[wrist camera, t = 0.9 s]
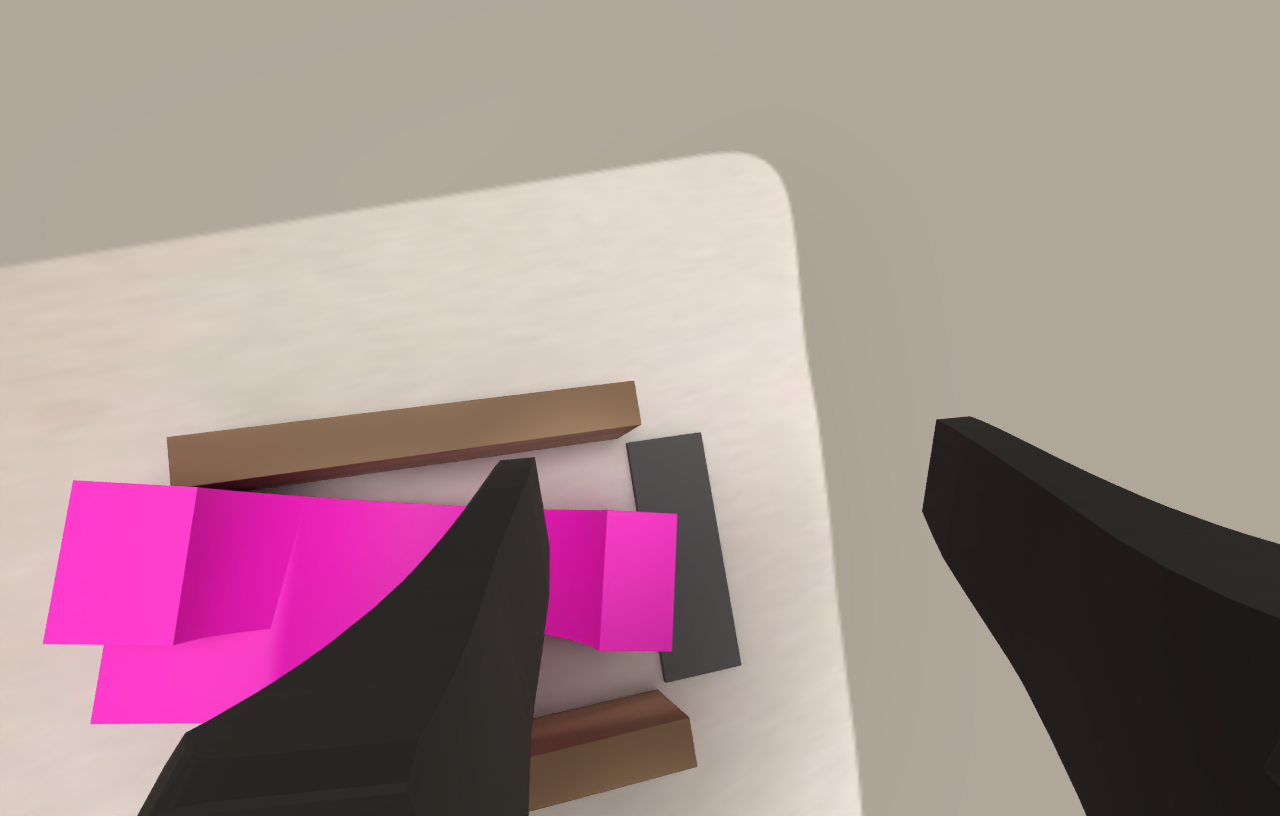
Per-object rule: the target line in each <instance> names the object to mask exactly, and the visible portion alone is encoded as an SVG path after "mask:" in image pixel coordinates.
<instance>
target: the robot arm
mask: <svg viewBox="0 0 1280 816" xmlns="http://www.w3.org/2000/svg"><path fill="white" fill-rule="evenodd" d="M922 512H923V514H924V516H925V519H926V521H927V524H928V526H929V528H930V531H931V533H932V535H933V537H934V539H935V542H936V544H937V546H938V548H939V550H940V552H941V554H942V556H943V558H944V560H945V562H946V563H947V565H948V566H949V568H950V570H951V571H952V573H953V574H954V576H955V578H956V579H957V581H958V582H959V584H960V585H961V587H962V589H963V590H964V592H965V593H966V595H967V596H968V598H969V599H970V601H971V602H972V604H973V606H974V607H975V608H976V610H977V612H978V613H979V615H980V616H981V618H982V619H983V621H984V622H985V624H986V625H987V627H988V629H989V630H990V632H991V633H992V635H993V636H994V638H995V639H996V641H997V642H998V644H999V645H1000V647H1001V649H1002V650H1003V652H1004V653H1005V655H1006V656H1007V658H1008V659H1009V661H1010V663H1011V664H1012V666H1013V668H1014V669H1015V671H1016V673H1017V674H1018V676H1019V677H1020V679H1021V681H1022V683H1023V685H1024V686H1025V688H1026V690H1027V692H1028V694H1029V696H1030V698H1031V700H1032V702H1033V704H1034V706H1035V708H1036V710H1037V712H1038V714H1039V716H1040V718H1041V720H1042V722H1043V724H1044V726H1045V728H1046V730H1047V732H1048V734H1049V736H1050V738H1051V740H1052V742H1053V744H1054V746H1055V748H1056V750H1057V752H1058V755H1059V757H1060V759H1061V761H1062V763H1063V765H1064V767H1065V769H1066V772H1067V774H1068V776H1069V778H1070V780H1071V782H1072V784H1073V786H1074V788H1075V791H1076V793H1077V795H1078V797H1079V799H1080V802H1081V804H1082V806H1083V809H1084V811H1085V813H1086V816H1280V544H1277V543H1274V542H1270V541H1267V540H1264V539H1260V538H1257V537H1254V536H1250V535H1247V534H1243V533H1241V532H1238V531H1235V530H1231V529H1228V528H1225V527H1222V526H1219V525H1216V524H1213V523H1210V522H1208V521H1205V520H1203V519H1199V518H1197V517H1194V516H1191V515H1189V514H1186V513H1183V512H1181V511H1178V510H1175V509H1172V508H1169V507H1167V506H1165V505H1162V504H1160V503H1157V502H1155V501H1152V500H1150V499H1147V498H1145V497H1142V496H1140V495H1138V494H1135V493H1133V492H1131V491H1128V490H1126V489H1124V488H1122V487H1119V486H1117V485H1115V484H1112V483H1110V482H1108V481H1106V480H1103V479H1101V478H1099V477H1097V476H1095V475H1093V474H1090V473H1088V472H1086V471H1084V470H1082V469H1080V468H1078V467H1076V466H1074V465H1071V464H1070V463H1068V462H1065V461H1063V460H1061V459H1059V458H1057V457H1055V456H1053V455H1051V454H1049V453H1047V452H1045V451H1043V450H1041V449H1039V448H1037V447H1035V446H1033V445H1031V444H1029V443H1027V442H1025V441H1023V440H1021V439H1019V438H1017V437H1015V436H1013V435H1011V434H1009V433H1007V432H1005V431H1003V430H1001V429H998V428H996V427H994V426H992V425H990V424H988V423H985V422H983V421H981V420H978V419H976V418H973V417H970V416H969V417H959V418H948V419H937V420H936V426H935V432H934V438H933V445H932V452H931V457H930V464H929V471H928V477H927V483H926V490H925V496H924V502H923V509H922ZM549 591H550V544H549V538H548V532H547V526H546V521H545V515H544V509H543V503H542V497H541V491H540V486H539V480H538V474H537V468H536V462H535V457H532V458H521V459H511V460H500V462H499V463H498V464H497V465H496V466H495V467H494V469H493V470H492V471H491V473H490V474H489V476H488V477H487V479H486V480H485V481H484V483H483V484H482V486H481V487H480V489H479V490H478V491H477V493H476V494H475V495H474V497H473V498H472V500H471V501H470V502H469V504H468V505H467V506H466V508H465V509H464V510H463V512H462V513H461V514H460V515H459V517H458V518H457V519H456V521H455V522H454V523H453V524H452V526H451V527H450V528H449V529H448V531H447V532H446V533H445V534H444V536H443V537H442V538H441V539H440V540H439V541H438V543H437V544H436V545H435V546H434V547H433V548H432V549H431V551H430V552H429V553H428V554H427V555H426V556H425V557H424V559H423V560H422V561H421V562H420V563H419V564H418V565H417V566H416V568H415V569H414V570H413V571H412V572H411V573H410V574H409V575H408V576H407V577H406V578H405V579H404V580H403V581H402V582H401V583H400V584H399V585H398V586H397V587H396V588H395V589H393V590H392V591H391V592H390V593H389V594H388V595H387V596H386V597H385V598H384V599H383V600H382V601H381V602H379V603H378V604H377V605H376V606H375V607H374V608H373V609H371V610H370V611H369V612H368V613H366V614H365V615H364V616H363V617H361V618H360V619H359V620H358V621H356V622H355V623H354V624H353V625H351V626H350V627H349V628H348V629H346V630H345V631H344V632H343V633H341V634H340V635H339V636H338V637H336V638H335V639H334V640H333V641H331V642H330V643H329V644H328V645H326V646H325V647H324V648H322V649H321V650H319V651H318V652H317V653H315V654H314V655H312V656H311V657H309V658H308V659H307V660H305V661H304V662H302V663H301V664H300V665H298V666H297V667H295V668H294V669H292V670H291V671H289V672H287V673H286V674H284V675H283V676H281V677H280V678H278V679H277V680H275V681H274V682H272V683H271V684H269V685H268V686H266V687H264V688H263V689H261V690H260V691H258V692H256V693H255V694H253V695H251V696H250V697H248V698H246V699H244V700H243V701H241V702H239V703H238V704H236V705H234V706H232V707H231V708H229V709H227V710H225V711H224V712H222V713H220V714H219V715H217V716H215V717H213V718H212V719H210V720H208V721H206V722H205V723H203V724H201V725H199V726H198V727H196V728H194V729H192V730H190V731H188V732H186V733H185V734H184V736H183V737H182V739H181V741H180V742H179V744H178V745H177V747H176V749H175V750H174V752H173V753H172V755H171V757H170V758H169V760H168V761H167V763H166V765H165V766H164V768H163V770H162V772H161V773H160V775H159V777H158V779H157V781H156V783H155V784H154V786H153V788H152V790H151V792H150V794H149V795H148V797H147V799H146V801H145V803H144V805H143V806H142V808H141V810H140V812H139V814H138V816H529V784H530V758H531V733H532V723H533V713H534V704H535V697H536V690H537V683H538V676H539V669H540V662H541V655H542V648H543V640H544V633H545V626H546V619H547V611H548V604H549Z"/></svg>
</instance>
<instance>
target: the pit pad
mask: <svg viewBox="0 0 1280 816" xmlns="http://www.w3.org/2000/svg"><path fill="white" fill-rule="evenodd" d="M626 446H627V452H628V458H629V465H630V471H631V477H632V483H633V490H634V496H635V502H636V508H637V512H650V513H668V514H677V532H676V558H675V583H674V609H673V634H672V651H659V652H660V658H661V664H662V670H663V677H664V681H665V682H666V683H667V682H671V681H676V680H680V679H684V678H688V677H693V676H697V675H701V674H706V673H710V672H714V671H718V670H723V669H727V668H731V667H736V666H740V665H741V660H740V655H739V649H738V643H737V637H736V632H735V626H734V620H733V614H732V609H731V603H730V597H729V591H728V586H727V580H726V574H725V568H724V563H723V557H722V551H721V545H720V540H719V534H718V528H717V522H716V516H715V511H714V505H713V499H712V493H711V488H710V482H709V476H708V470H707V465H706V459H705V453H704V447H703V442H702V436H701V432H700V433H693V434H686V435H679V436H672V437H665V438H658V439H651V440H644V441H637V442H630V443H626Z"/></svg>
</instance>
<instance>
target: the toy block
mask: <svg viewBox="0 0 1280 816" xmlns="http://www.w3.org/2000/svg"><path fill="white" fill-rule="evenodd" d="M465 508H466V506H451V505H432V504H414V503H396V502H380V501H363V500H348V499H333V498H318V497H304V496H290V495H277V494H265V493H252V492H241V491H229V490H219V489H209V488H200V487H184V486H166V485H148V484H130V483H112V482H94V481H76V480H73V484H72V490H71V495H70V500H69V506H68V511H67V516H66V522H65V527H64V533H63V538H62V543H61V549H60V554H59V560H58V565H57V570H56V576H55V581H54V586H53V592H52V597H51V603H50V608H49V613H48V619H47V624H46V630H45V635H44V640H43V644H90V645H104V647H103V653H102V659H101V665H100V671H99V677H98V682H97V688H96V694H95V700H94V706H93V712H92V717H91V723H90V724H154V723H205V722H206V721H208V720H210V719H212V718H213V717H215V716H217V715H219V714H220V713H222V712H224V711H225V710H227V709H229V708H231V707H232V706H234V705H236V704H238V703H239V702H241V701H243V700H244V699H246V698H248V697H250V696H251V695H253V694H255V693H256V692H258V691H260V690H261V689H263V688H264V687H266V686H268V685H269V684H271V683H272V682H274V681H275V680H277V679H278V678H280V677H281V676H283V675H284V674H286V673H287V672H289V671H291V670H292V669H294V668H295V667H297V666H298V665H300V664H301V663H302V662H304V661H305V660H307V659H308V658H309V657H311V656H312V655H314V654H315V653H317V652H318V651H319V650H321V649H322V648H324V647H325V646H326V645H328V644H329V643H330V642H331V641H333V640H334V639H335V638H336V637H338V636H339V635H340V634H341V633H343V632H344V631H345V630H346V629H348V628H349V627H350V626H351V625H353V624H354V623H355V622H356V621H358V620H359V619H360V618H361V617H363V616H364V615H365V614H366V613H368V612H369V611H370V610H371V609H373V608H374V607H375V606H376V605H377V604H378V603H379V602H381V601H382V600H383V599H384V598H385V597H386V596H387V595H388V594H389V593H390V592H391V591H392V590H393V589H395V588H396V587H397V586H398V585H399V584H400V583H401V582H402V581H403V580H404V579H405V578H406V577H407V576H408V575H409V574H410V573H411V572H412V571H413V570H414V569H415V568H416V566H417V565H418V564H419V563H420V562H421V561H422V560H423V559H424V557H425V556H426V555H427V554H428V553H429V552H430V551H431V549H432V548H433V547H434V546H435V545H436V544H437V543H438V541H439V540H440V539H441V538H442V537H443V536H444V534H445V533H446V532H447V531H448V529H449V528H450V527H451V526H452V524H453V523H454V522H455V521H456V519H457V518H458V517H459V515H460V514H461V513H462V512H463V510H464V509H465ZM544 515H545V521H546V526H547V532H548V538H549V544H550V591H549V604H548V611H547V619H546V626H545V633H544V634H545V635H550V636H555V637H560V638H565V639H569V640H573V641H577V642H580V643H583V644H586V645H589V646H591V647H593V648H595V649H597V650H599V651H672V634H673V609H674V583H675V558H676V532H677V514H668V513H650V512H632V511H614V510H546V509H544Z"/></svg>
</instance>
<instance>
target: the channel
mask: <svg viewBox="0 0 1280 816" xmlns="http://www.w3.org/2000/svg"><path fill="white" fill-rule="evenodd" d="M639 425H641V420H640V413H639V407H638V401H637V395H636V389H635V383H634V381H628V382H619V383H611V384H603V385H595V386H586V387H578V388H570V389H562V390H553V391H545V392H537V393H528V394H520V395H512V396H504V397H495V398H487V399H479V400H471V401H462V402H454V403H446V404H438V405H429V406H421V407H413V408H405V409H396V410H388V411H380V412H371V413H363V414H355V415H347V416H338V417H330V418H322V419H314V420H305V421H297V422H289V423H281V424H272V425H264V426H256V427H248V428H239V429H231V430H223V431H214V432H206V433H198V434H190V435H181V436H173V437H167V446H168V458H169V471H170V484H171V486H184V487H200V488H209V489H219V490H229V491H249V490H256V489H263V488H270V487H277V486H284V485H291V484H298V483H305V482H312V481H319V480H326V479H334V478H341V477H348V476H355V475H362V474H369V473H376V472H383V471H390V470H397V469H404V468H412V467H419V466H426V465H433V464H440V463H447V462H454V461H461V460H468V459H475V458H482V457H489V456H497V455H504V454H511V453H518V452H525V451H532V450H539V449H546V448H553V447H560V446H567V445H574V444H582V443H589V442H596V441H603V440H610V439H617V438H619V437H621V436H623V435H624V434H626V433H628V432H629V431H631V430H633V429H634V428H636V427H638V426H639ZM694 767H697V762H696V756H695V750H694V744H693V737H692V731H691V725H690V719H689V717H688V716H687V715H686V714H685V713H683V712H682V711H681V710H680V709H679V708H678V707H677V706H676V705H674V704H673V703H672V702H671V701H670V700H669V699H668V698H666V697H665V696H664V695H663V694H662V693H661V692H660V691H659V690H654V691H650V692H646V693H641V694H637V695H633V696H629V697H624V698H620V699H616V700H612V701H607V702H603V703H599V704H595V705H590V706H586V707H582V708H578V709H573V710H569V711H565V712H561V713H556V714H552V715H548V716H544V717H539V718H535V719H533V723H532V733H531V758H530V784H529V812H530V811H534V810H537V809H541V808H545V807H549V806H552V805H556V804H560V803H564V802H567V801H571V800H575V799H578V798H582V797H586V796H590V795H593V794H597V793H601V792H605V791H608V790H612V789H616V788H620V787H623V786H627V785H631V784H635V783H638V782H642V781H646V780H650V779H653V778H657V777H661V776H664V775H668V774H672V773H676V772H679V771H683V770H687V769H691V768H694Z"/></svg>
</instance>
